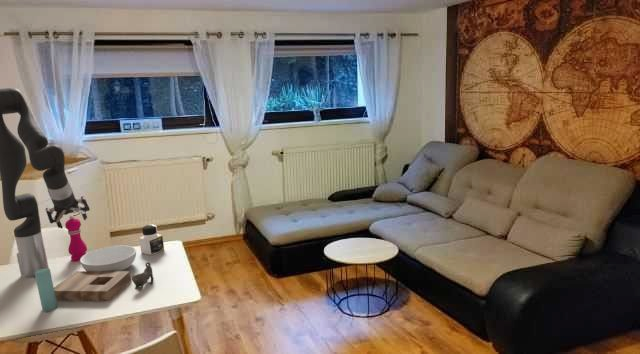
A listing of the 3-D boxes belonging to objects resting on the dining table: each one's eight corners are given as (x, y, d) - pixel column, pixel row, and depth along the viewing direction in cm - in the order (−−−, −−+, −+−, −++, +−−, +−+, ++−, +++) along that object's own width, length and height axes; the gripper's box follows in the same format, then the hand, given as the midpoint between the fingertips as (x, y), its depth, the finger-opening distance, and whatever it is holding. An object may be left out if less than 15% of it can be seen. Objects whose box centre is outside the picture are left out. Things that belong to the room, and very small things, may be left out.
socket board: (51, 301, 170) (49, 290, 169) (78, 280, 185) (76, 271, 184) (109, 301, 167) (107, 291, 166) (131, 280, 183) (129, 271, 182)
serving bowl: (125, 280, 184) (123, 264, 182) (72, 282, 184) (69, 266, 183) (145, 258, 204) (143, 243, 202) (98, 260, 205) (95, 245, 203)
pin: (39, 311, 163) (31, 274, 160) (48, 304, 167) (40, 268, 164) (51, 311, 162) (44, 274, 159) (60, 305, 167) (52, 268, 163)
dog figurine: (144, 278, 184) (141, 261, 183) (158, 279, 183) (155, 261, 182) (127, 293, 173) (124, 274, 171) (142, 293, 172) (139, 274, 170)
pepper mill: (70, 263, 203) (61, 219, 198) (70, 257, 209) (61, 214, 204) (88, 259, 206) (81, 216, 201) (88, 254, 212) (80, 211, 207)
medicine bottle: (151, 255, 207) (147, 229, 204) (141, 252, 210) (137, 227, 207) (164, 249, 212) (161, 224, 210) (154, 247, 216) (150, 222, 213)
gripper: (78, 180, 180) (89, 210, 191) (37, 193, 174) (51, 223, 184) (84, 192, 176) (94, 222, 186) (42, 205, 169) (55, 236, 180)
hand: (73, 223), depth 185 cm, fingers open, 8 cm apart
